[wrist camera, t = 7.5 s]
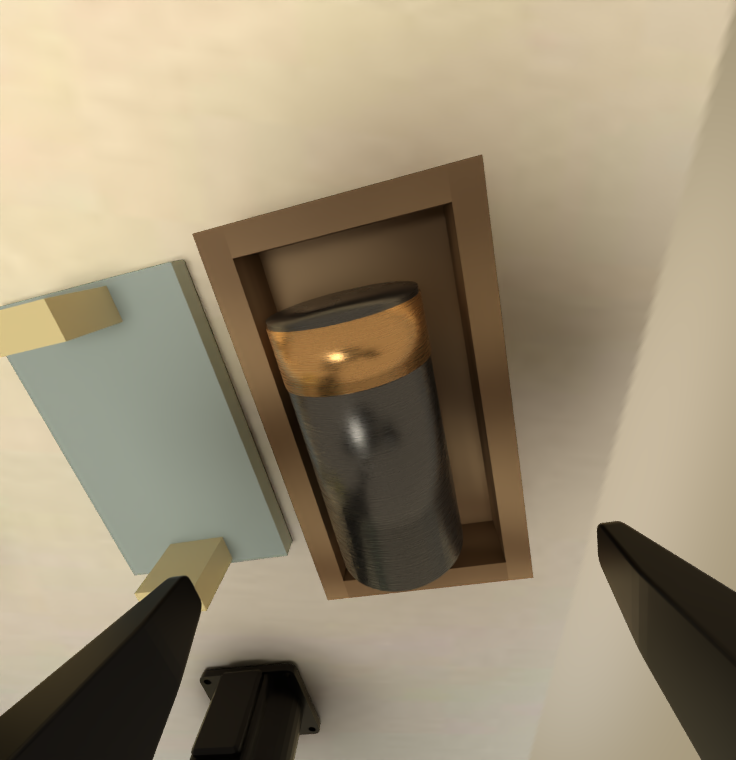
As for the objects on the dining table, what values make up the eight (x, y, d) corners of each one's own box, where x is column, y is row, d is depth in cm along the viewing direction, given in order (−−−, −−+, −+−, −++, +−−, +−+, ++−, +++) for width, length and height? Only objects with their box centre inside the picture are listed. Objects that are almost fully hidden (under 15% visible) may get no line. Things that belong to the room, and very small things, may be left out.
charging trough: (511, 519, 20) (533, 577, 16) (338, 542, 21) (327, 600, 18) (463, 170, 14) (482, 154, 11) (235, 231, 16) (192, 233, 12)
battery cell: (466, 496, 18) (462, 597, 13) (360, 498, 19) (324, 588, 15) (428, 273, 14) (404, 305, 10) (302, 298, 16) (232, 336, 11)
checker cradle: (292, 540, 21) (269, 607, 18) (145, 561, 23) (95, 626, 19) (183, 259, 16) (119, 270, 12) (2, 307, 18) (-104, 329, 14)
